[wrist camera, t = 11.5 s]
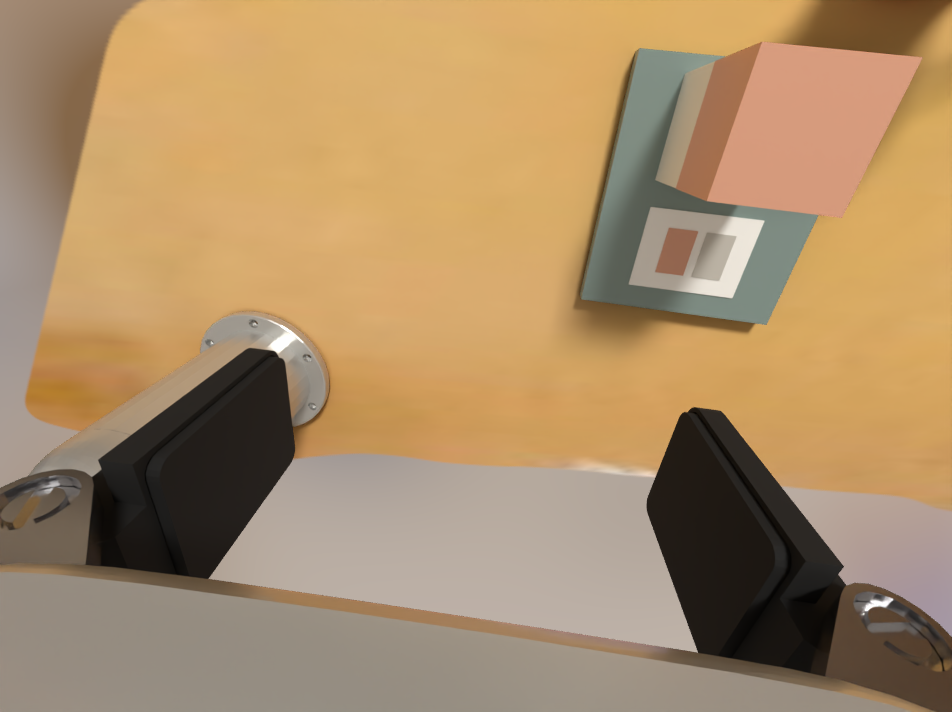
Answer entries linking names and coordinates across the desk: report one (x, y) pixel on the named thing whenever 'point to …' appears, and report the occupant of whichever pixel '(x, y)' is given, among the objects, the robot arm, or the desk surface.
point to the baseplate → (681, 212)
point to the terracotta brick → (792, 126)
